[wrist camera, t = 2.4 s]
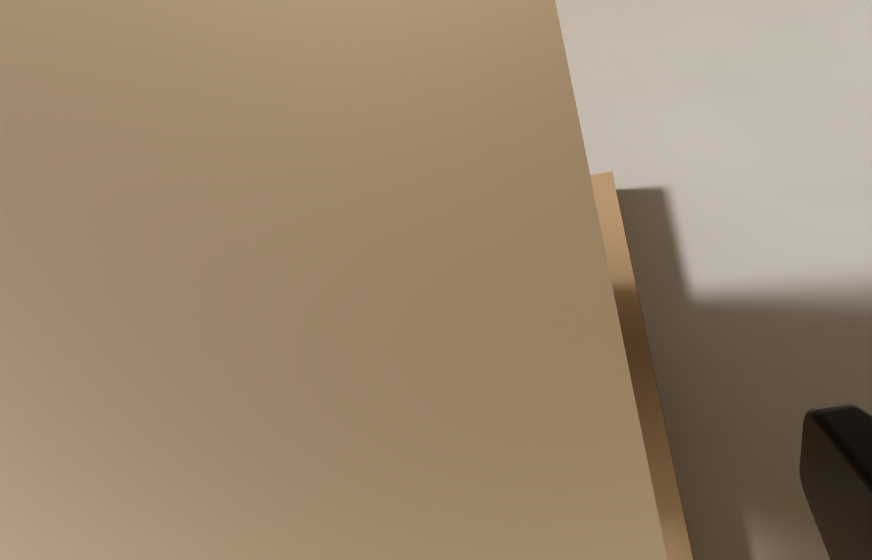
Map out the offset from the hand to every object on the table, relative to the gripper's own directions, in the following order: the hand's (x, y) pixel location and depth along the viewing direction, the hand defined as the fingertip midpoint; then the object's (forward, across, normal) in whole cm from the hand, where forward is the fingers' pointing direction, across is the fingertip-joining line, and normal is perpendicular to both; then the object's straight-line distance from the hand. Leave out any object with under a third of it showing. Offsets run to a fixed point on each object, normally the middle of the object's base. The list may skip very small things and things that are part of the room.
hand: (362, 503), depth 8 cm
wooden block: (+8, 0, +6) cm, 10 cm away
